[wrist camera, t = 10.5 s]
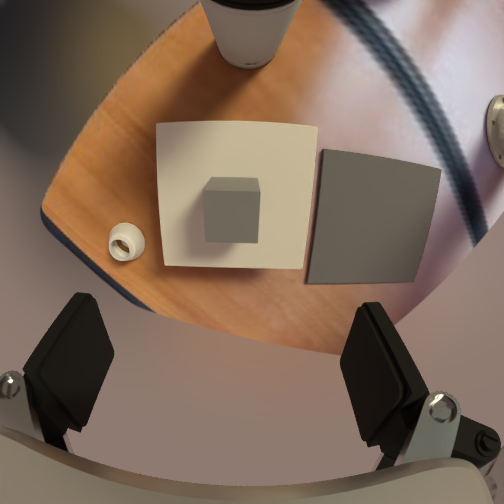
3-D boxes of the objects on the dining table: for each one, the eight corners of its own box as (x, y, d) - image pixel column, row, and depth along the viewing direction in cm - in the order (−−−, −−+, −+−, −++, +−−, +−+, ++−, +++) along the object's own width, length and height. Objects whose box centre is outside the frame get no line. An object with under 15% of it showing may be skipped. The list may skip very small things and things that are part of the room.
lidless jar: (152, 249, 34) (134, 215, 32) (145, 260, 31) (125, 223, 29) (123, 262, 34) (105, 230, 32) (115, 273, 32) (95, 239, 30)
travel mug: (262, 80, 25) (296, 9, 7) (208, 55, 23) (151, -36, 6) (290, 37, 23) (356, -61, 5) (236, 13, 21) (228, -104, 3)
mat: (438, 168, 29) (441, 169, 29) (411, 279, 37) (413, 281, 36) (322, 148, 28) (324, 149, 28) (306, 280, 36) (307, 283, 36)
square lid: (315, 126, 22) (335, 128, 17) (300, 265, 29) (312, 297, 23) (158, 123, 22) (135, 124, 17) (166, 261, 28) (151, 293, 23)
